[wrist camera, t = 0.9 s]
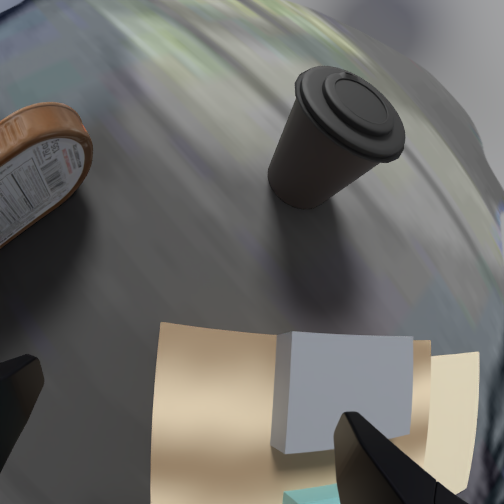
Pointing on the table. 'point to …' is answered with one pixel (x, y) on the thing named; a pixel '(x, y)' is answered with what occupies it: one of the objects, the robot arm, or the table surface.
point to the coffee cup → (332, 136)
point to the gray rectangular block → (339, 387)
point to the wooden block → (240, 421)
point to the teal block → (313, 495)
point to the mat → (452, 419)
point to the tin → (39, 163)
